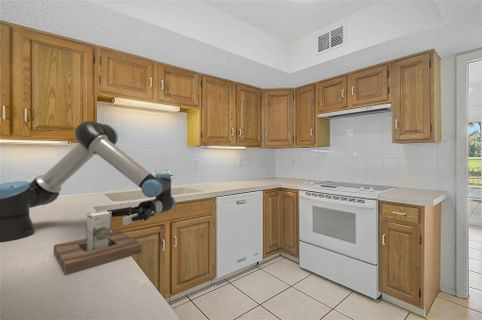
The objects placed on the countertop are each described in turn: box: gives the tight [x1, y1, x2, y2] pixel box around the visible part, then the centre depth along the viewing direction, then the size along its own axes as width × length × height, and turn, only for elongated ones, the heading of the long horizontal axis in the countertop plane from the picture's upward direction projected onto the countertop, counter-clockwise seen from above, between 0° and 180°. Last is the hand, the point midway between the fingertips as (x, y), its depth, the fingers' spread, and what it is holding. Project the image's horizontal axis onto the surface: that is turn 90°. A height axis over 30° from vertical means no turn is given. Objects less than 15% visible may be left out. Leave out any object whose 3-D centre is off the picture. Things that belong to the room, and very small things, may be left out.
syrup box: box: [85, 210, 111, 252], centre depth 82 cm, size 6×6×14 cm
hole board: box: [53, 230, 143, 275], centre depth 82 cm, size 22×22×3 cm
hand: (109, 219), depth 87 cm, fingers open, 13 cm apart
